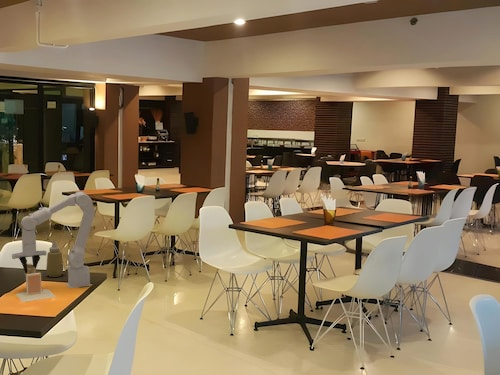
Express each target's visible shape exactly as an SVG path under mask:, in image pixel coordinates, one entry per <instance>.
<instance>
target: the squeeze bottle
mask: <svg viewBox="0 0 500 375" xmlns="http://www.w3.org/2000/svg"><path fill="white" fill-rule="evenodd" d="M48 249H49V251H48V252H47V255H46V257H47V258H46V272H47V274H48V277H50V278H58V277H61V276H62V275H63V272H64V262H63V256H62V253H63V252H61V251H60V247H59V246H58V244H57V241H56V240H55V239H53V240H52V244H51V247H49V248H48Z"/></svg>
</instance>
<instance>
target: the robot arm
mask: <svg viewBox="0 0 500 375" xmlns="http://www.w3.org/2000/svg"><path fill="white" fill-rule="evenodd" d="M76 206H78V207H79V208H80V210H81V212H82V213H83V215H82V218H81V219H80V225H79V226H78V232H77V234H76V238H75V240H74V241H75V242H74V245H73V247H72V248H71V251H70V252H68V255H67V260H68V263H69V264H68V266H67V278H68V282H67V283H65V285H66V286H67V287H68V288H70V289H75V288H82V287H90V286H91V273H90V272H91V271H90V267H89V266H88V265H85V252H86V250H85V249H86V244H87V242H88V239H89V234H90V231H91V227H92V225H93V221H94V217H95V214H96V211H95V208H94V204H93V200H92V198H91V196H89V195H88V194H86V193H85V192H84V191H76V192H75V193H72V194H70V195H67V196H65V198H63V199H61V200H59V201H57V202H56V203H54V204H53V205H51V206H50V207H46V206H44V207H39V208H38V210H36V211H34V212H33V213H29V214H28V215H26V216H24V217H22V219H21V221H20V225H21V227H22V228H21V232H22V233H21V241H22V242H21V244H22V248H21V249H22V252H18V253H12V254H11V259H12V260H15V259H19V261H20V262H21V265H22V268H23V273H25V274H27V264H28V259H27V258H31V260H32V261H31V262H32V265H33V266H34V267H35V268H36V269H37V267H38V264H39V261H40V259H41V256H47V255H48V252H47V251H46V250H37V242H36V241H37V238H36V233H37V232H36V227H37V226H39V225H41V224H43V223H45V222H46V221H48V220H50V219H51V218H52V215H53V214H55V213H57V212H59V211H61V210H63V209H65V208H67V207H76ZM25 274H24V275H25Z"/></svg>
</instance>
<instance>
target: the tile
mask: <svg viewBox="0 0 500 375" xmlns="http://www.w3.org/2000/svg"><path fill="white" fill-rule="evenodd" d="M25 285H26V287H25V288H26V291H25V292H26V293H27V295H31V294H38V293H42V292H41V290H42V272H36V273H32V274H26V275H25Z"/></svg>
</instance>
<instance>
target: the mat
mask: <svg viewBox="0 0 500 375" xmlns="http://www.w3.org/2000/svg"><path fill="white" fill-rule="evenodd" d="M41 292H42V293H38V294H31V295H27V293H26V291H24V292H18V293H15V295H16V297H18V299H19V300H20V301H21V303H28V302H32V301H33V302H34V301H39V300H40V301H41V300H45V299H53V298H57V296H56V295H55V294H54V293H53V292H52V291H51V290H50V289H48V288H45V289H41Z"/></svg>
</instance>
